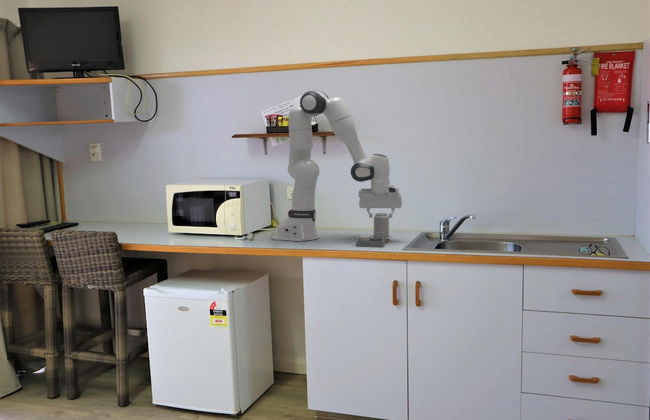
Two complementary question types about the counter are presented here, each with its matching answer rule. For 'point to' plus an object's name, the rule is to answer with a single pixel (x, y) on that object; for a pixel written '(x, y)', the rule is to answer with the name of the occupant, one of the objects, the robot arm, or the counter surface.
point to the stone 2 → (379, 234)
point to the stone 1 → (365, 238)
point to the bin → (371, 243)
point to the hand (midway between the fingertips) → (380, 217)
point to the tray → (386, 240)
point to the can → (381, 223)
